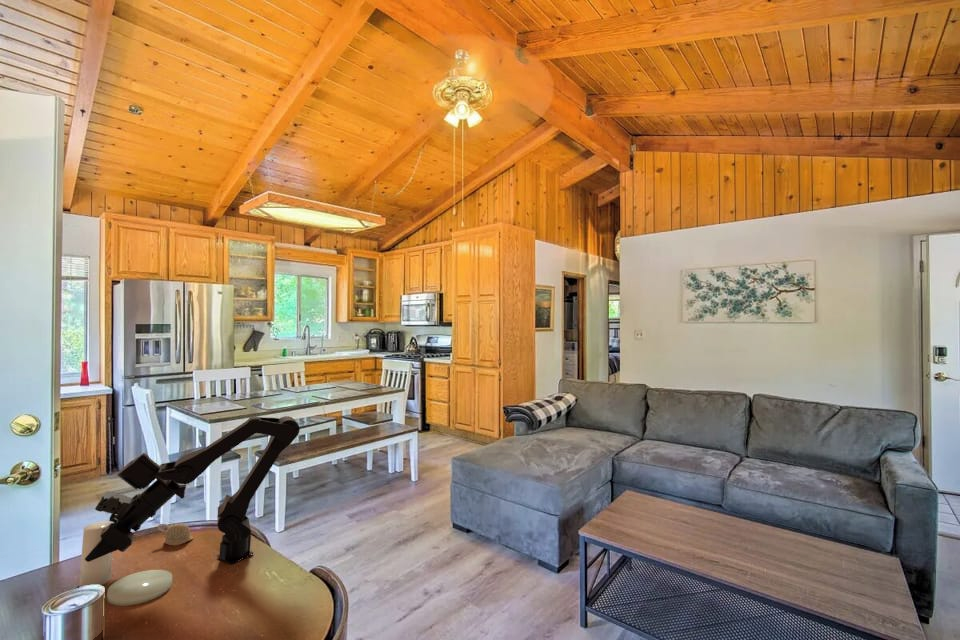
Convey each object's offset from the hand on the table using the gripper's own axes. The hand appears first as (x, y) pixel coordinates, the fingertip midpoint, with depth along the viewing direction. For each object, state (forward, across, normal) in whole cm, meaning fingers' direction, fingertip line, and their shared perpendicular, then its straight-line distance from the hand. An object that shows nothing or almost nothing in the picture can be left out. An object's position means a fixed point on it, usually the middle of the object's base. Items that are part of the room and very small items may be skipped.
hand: (89, 554), depth 105 cm
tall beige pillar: (+4, 0, +6) cm, 7 cm away
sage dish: (-3, +8, +12) cm, 15 cm away
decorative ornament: (-6, -16, +16) cm, 24 cm away
